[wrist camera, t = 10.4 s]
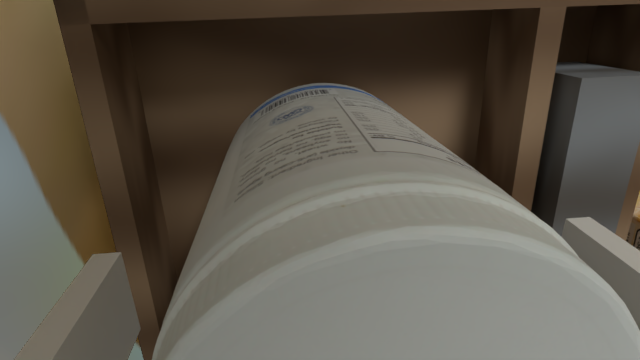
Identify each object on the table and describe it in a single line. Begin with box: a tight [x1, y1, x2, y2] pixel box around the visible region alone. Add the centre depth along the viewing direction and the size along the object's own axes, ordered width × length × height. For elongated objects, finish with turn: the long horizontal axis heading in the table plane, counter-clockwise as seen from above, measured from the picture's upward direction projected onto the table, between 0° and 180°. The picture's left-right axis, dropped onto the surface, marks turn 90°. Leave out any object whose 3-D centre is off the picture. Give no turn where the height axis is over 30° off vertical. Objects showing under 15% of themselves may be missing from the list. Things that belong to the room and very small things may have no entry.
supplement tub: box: [152, 83, 640, 360], centre depth 14 cm, size 10×10×15 cm
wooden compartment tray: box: [53, 0, 640, 360], centre depth 19 cm, size 17×23×5 cm
